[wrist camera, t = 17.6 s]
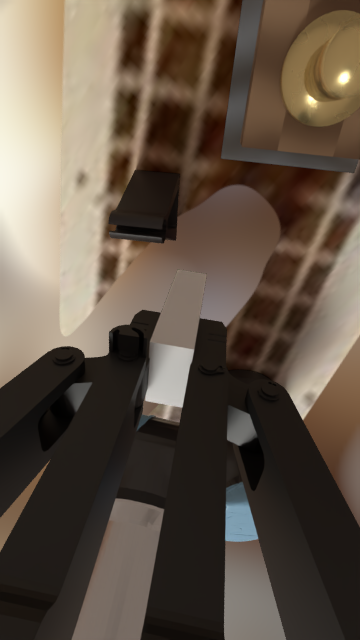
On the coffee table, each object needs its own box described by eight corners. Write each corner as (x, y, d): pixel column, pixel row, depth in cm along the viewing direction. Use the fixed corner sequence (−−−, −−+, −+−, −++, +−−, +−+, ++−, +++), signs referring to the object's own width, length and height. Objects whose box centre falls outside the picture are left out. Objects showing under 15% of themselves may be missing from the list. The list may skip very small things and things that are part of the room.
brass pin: (331, 128, 36) (393, 133, 22) (263, 121, 37) (282, 122, 23) (357, 40, 32) (452, -21, 18) (280, 34, 33) (315, -30, 19)
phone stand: (176, 239, 48) (160, 272, 38) (136, 235, 48) (110, 266, 38) (180, 173, 43) (163, 189, 33) (135, 169, 43) (106, 184, 33)
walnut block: (350, 171, 40) (383, 185, 31) (221, 157, 41) (217, 167, 32) (410, -8, 32) (479, -58, 23) (245, -19, 33) (249, -71, 24)
